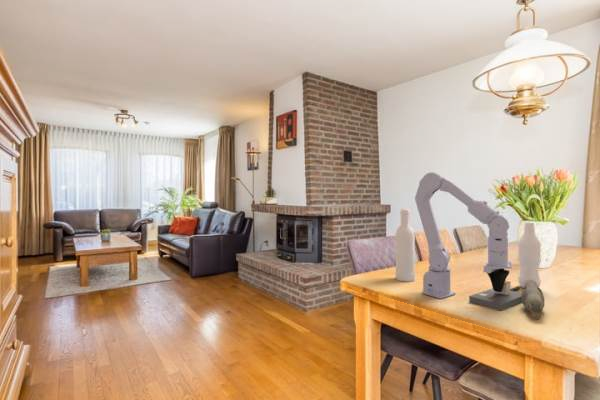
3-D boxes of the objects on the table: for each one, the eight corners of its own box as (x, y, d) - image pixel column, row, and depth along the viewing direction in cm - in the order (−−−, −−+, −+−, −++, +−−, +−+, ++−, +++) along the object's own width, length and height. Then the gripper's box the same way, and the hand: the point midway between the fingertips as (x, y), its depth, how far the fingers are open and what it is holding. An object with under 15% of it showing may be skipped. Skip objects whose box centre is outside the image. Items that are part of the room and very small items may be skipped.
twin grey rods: (518, 298, 112) (518, 295, 112) (501, 294, 116) (501, 291, 116) (533, 292, 118) (533, 289, 118) (517, 288, 123) (517, 285, 123)
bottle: (396, 276, 142) (396, 208, 142) (415, 277, 140) (415, 208, 139) (395, 280, 135) (394, 209, 134) (414, 282, 132) (414, 209, 132)
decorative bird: (524, 318, 94) (524, 291, 94) (519, 301, 109) (520, 278, 108) (548, 322, 91) (548, 294, 91) (541, 304, 106) (541, 280, 105)
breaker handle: (506, 294, 108) (506, 283, 108) (493, 291, 111) (493, 280, 111) (510, 293, 109) (510, 281, 109) (497, 290, 113) (497, 279, 113)
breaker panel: (501, 310, 100) (501, 304, 100) (469, 301, 108) (469, 295, 108) (527, 300, 110) (527, 293, 110) (496, 292, 118) (496, 286, 118)
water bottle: (535, 285, 126) (536, 222, 126) (544, 291, 120) (544, 223, 119) (514, 284, 128) (515, 222, 128) (522, 289, 122) (522, 223, 121)
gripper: (499, 255, 101) (499, 298, 101) (521, 250, 109) (520, 290, 109) (477, 252, 107) (477, 292, 107) (498, 247, 115) (498, 285, 115)
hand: (497, 291), depth 108 cm, fingers closed
